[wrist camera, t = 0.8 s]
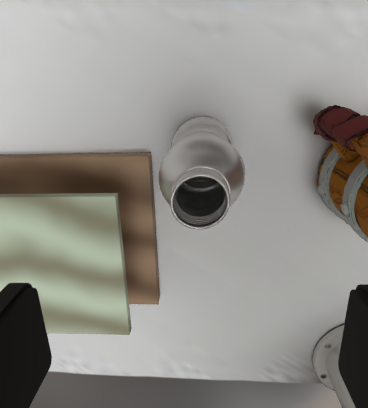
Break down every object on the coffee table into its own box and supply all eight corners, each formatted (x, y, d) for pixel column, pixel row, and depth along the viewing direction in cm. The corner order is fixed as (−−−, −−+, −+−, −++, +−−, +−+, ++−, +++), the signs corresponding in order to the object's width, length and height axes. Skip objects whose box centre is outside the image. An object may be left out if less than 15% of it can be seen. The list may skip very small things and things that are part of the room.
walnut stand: (159, 295, 47) (148, 349, 38) (20, 293, 48) (-24, 345, 39) (150, 152, 40) (134, 175, 31) (-12, 155, 41) (-76, 177, 32)
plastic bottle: (161, 138, 39) (123, 194, 21) (208, 101, 38) (213, 125, 19) (195, 181, 41) (188, 268, 22) (241, 147, 39) (276, 211, 20)
